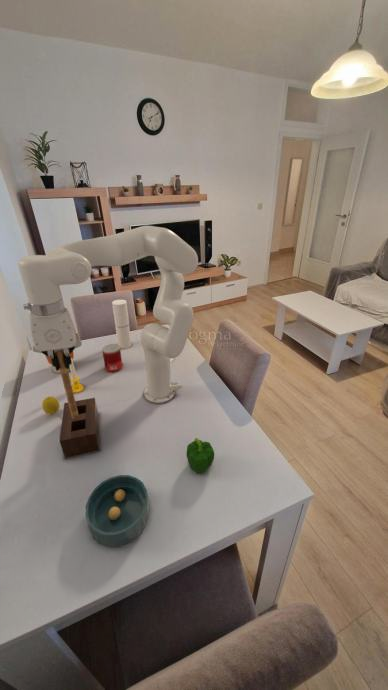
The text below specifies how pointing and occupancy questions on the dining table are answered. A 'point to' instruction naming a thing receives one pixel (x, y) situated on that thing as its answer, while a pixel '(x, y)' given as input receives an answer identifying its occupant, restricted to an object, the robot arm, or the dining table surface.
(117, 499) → the dough ball
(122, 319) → the cylindrical container
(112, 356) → the canned food
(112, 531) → the bowl
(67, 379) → the stirring stick
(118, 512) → the dough ball
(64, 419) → the stand
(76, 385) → the candle
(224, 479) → the dining table surface
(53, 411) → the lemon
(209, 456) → the bell pepper
